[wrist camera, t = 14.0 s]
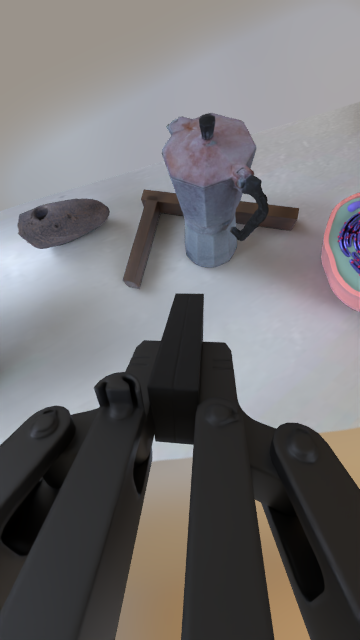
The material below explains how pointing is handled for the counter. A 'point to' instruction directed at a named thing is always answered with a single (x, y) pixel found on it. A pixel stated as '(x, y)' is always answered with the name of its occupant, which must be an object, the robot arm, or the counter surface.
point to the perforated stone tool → (61, 221)
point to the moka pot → (213, 183)
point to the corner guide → (170, 205)
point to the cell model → (343, 251)
